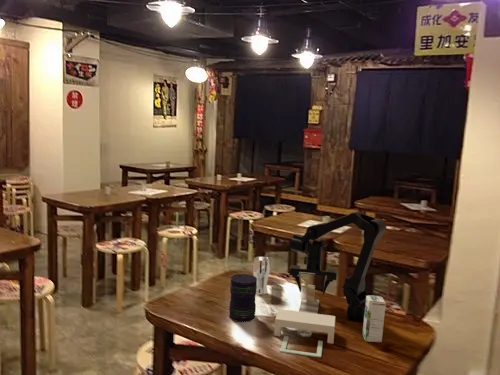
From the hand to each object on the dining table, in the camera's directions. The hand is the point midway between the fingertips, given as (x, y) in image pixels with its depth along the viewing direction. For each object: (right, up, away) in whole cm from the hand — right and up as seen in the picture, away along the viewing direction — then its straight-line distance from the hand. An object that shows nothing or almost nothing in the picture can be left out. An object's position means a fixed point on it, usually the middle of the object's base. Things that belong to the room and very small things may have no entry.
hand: (311, 292), depth 193 cm
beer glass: (-21, -2, +11) cm, 23 cm away
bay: (-8, -10, -36) cm, 38 cm away
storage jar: (-28, -6, -15) cm, 32 cm away
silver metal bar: (-2, -6, -9) cm, 11 cm away
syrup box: (+17, -10, -28) cm, 34 cm away
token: (-6, -9, -27) cm, 29 cm away
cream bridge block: (-6, -8, -27) cm, 29 cm away
